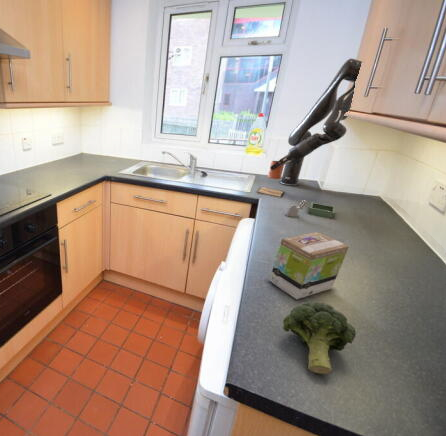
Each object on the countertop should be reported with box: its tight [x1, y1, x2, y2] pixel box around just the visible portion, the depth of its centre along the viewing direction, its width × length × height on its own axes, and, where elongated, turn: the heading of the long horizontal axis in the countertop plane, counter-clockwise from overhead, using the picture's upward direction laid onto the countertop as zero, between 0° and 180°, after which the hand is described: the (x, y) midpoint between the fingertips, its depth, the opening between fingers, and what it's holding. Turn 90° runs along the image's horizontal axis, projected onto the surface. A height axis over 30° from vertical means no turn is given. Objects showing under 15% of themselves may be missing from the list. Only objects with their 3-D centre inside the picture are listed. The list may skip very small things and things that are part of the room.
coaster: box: [257, 186, 284, 198], centre depth 173 cm, size 12×12×1 cm
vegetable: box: [282, 301, 357, 375], centre depth 63 cm, size 12×13×15 cm
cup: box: [267, 160, 285, 180], centre depth 168 cm, size 7×7×9 cm
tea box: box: [269, 231, 350, 300], centre depth 85 cm, size 15×10×15 cm
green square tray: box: [308, 202, 336, 219], centre depth 144 cm, size 10×10×3 cm
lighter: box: [286, 199, 308, 218], centre depth 138 cm, size 7×2×8 cm, turn 85°
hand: (273, 167), depth 168 cm, fingers closed on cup, 6 cm apart
